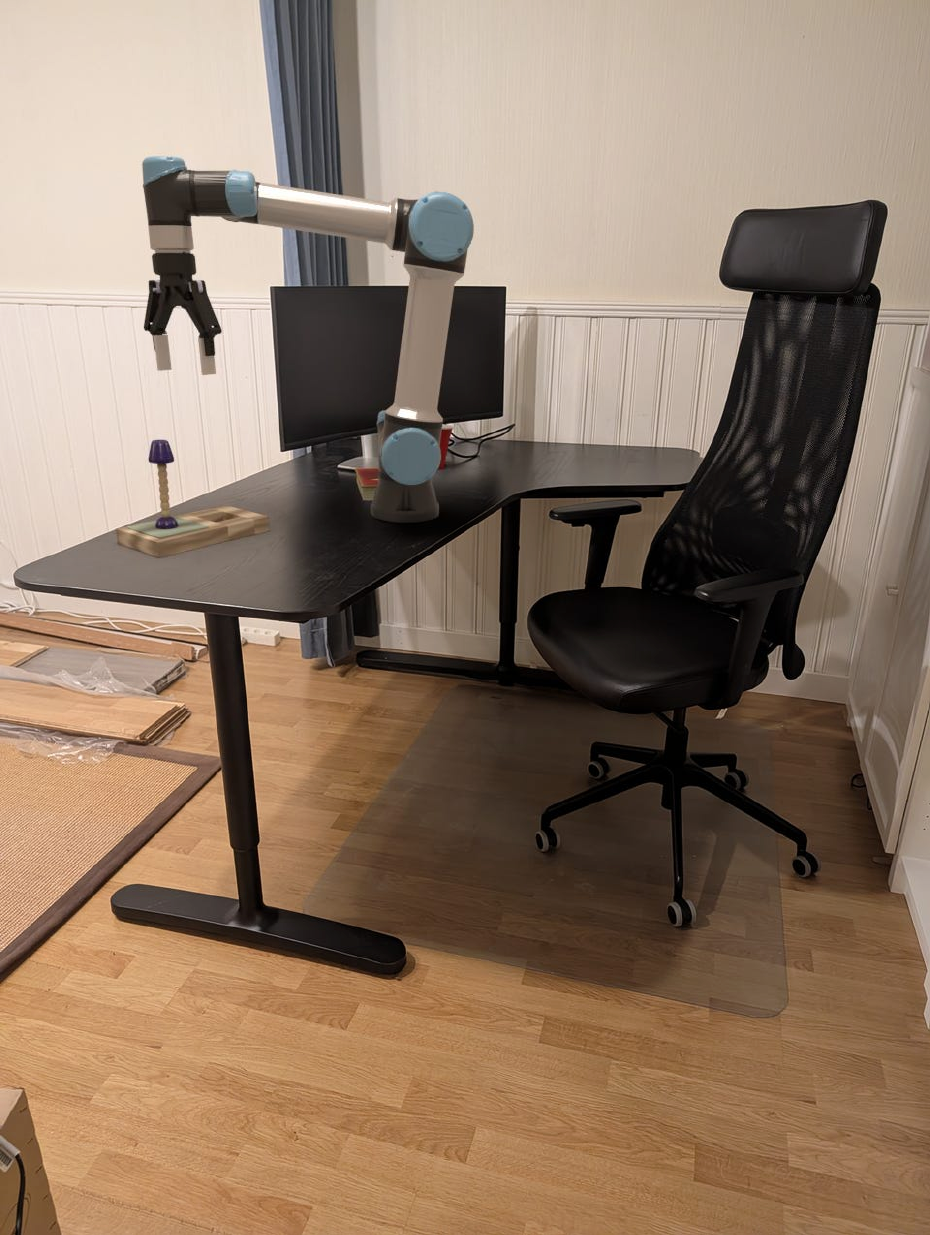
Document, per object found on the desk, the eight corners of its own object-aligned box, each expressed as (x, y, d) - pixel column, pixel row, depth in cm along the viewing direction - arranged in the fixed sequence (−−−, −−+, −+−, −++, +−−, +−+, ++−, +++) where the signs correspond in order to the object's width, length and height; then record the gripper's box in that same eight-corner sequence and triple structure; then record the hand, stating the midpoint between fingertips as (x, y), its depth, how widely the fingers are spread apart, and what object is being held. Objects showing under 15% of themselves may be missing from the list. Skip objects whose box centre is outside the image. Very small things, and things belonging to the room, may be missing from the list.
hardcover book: (401, 482, 234) (401, 466, 232) (412, 501, 214) (412, 484, 213) (355, 483, 231) (354, 467, 230) (361, 502, 212) (361, 485, 211)
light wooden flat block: (269, 530, 186) (268, 515, 184) (159, 557, 167) (157, 540, 165) (227, 518, 194) (225, 503, 193) (117, 543, 175) (115, 527, 174)
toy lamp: (178, 522, 178) (169, 437, 172) (183, 527, 174) (174, 441, 168) (153, 525, 175) (143, 439, 170) (158, 530, 172) (147, 443, 166)
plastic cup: (461, 467, 252) (462, 423, 247) (437, 472, 243) (437, 428, 239) (431, 461, 258) (432, 419, 253) (407, 467, 250) (406, 423, 245)
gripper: (234, 251, 159) (244, 374, 167) (149, 253, 173) (163, 366, 181) (199, 250, 154) (212, 378, 161) (115, 252, 168) (130, 369, 175)
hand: (186, 372), depth 171 cm, fingers open, 13 cm apart
